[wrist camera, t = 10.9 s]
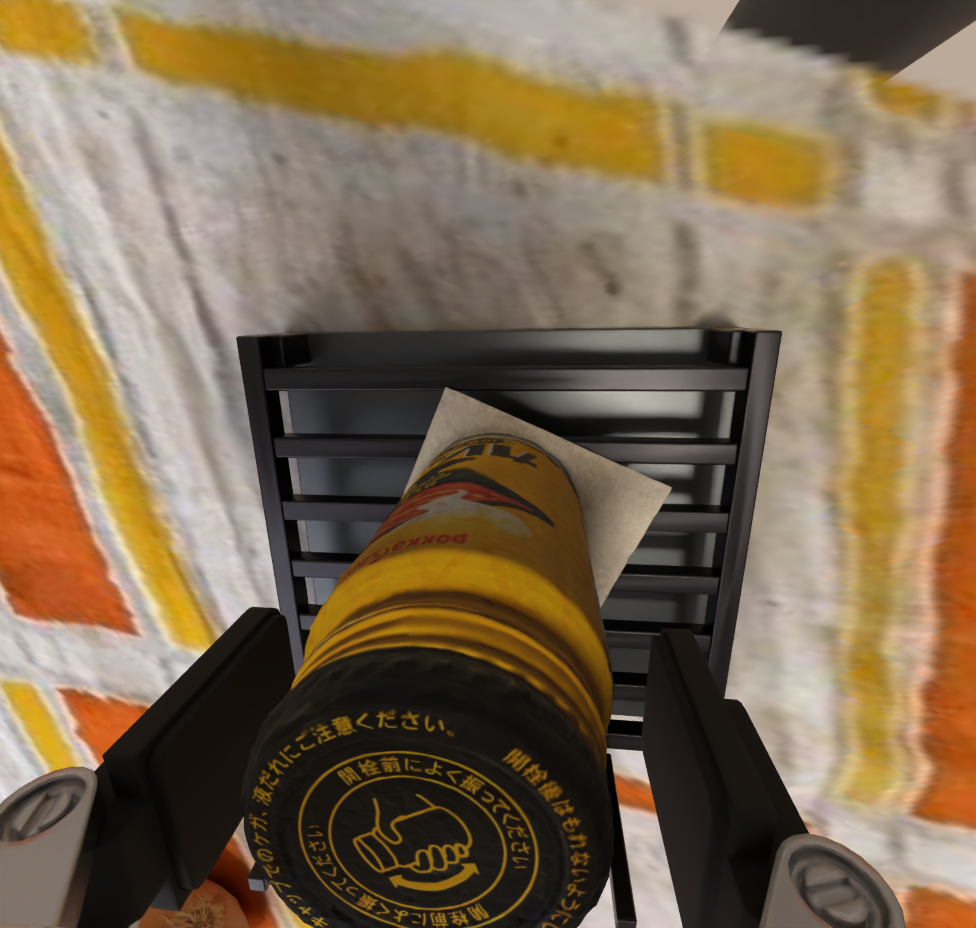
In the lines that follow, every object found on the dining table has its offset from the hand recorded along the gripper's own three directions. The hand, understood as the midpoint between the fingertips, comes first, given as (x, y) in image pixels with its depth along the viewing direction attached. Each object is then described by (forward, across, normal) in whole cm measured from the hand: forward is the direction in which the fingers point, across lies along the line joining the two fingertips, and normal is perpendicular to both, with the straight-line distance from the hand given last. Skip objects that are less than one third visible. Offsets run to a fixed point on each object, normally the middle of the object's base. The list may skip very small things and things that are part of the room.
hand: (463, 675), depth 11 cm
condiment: (+8, -1, 0) cm, 8 cm away
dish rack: (+11, 0, +2) cm, 11 cm away
